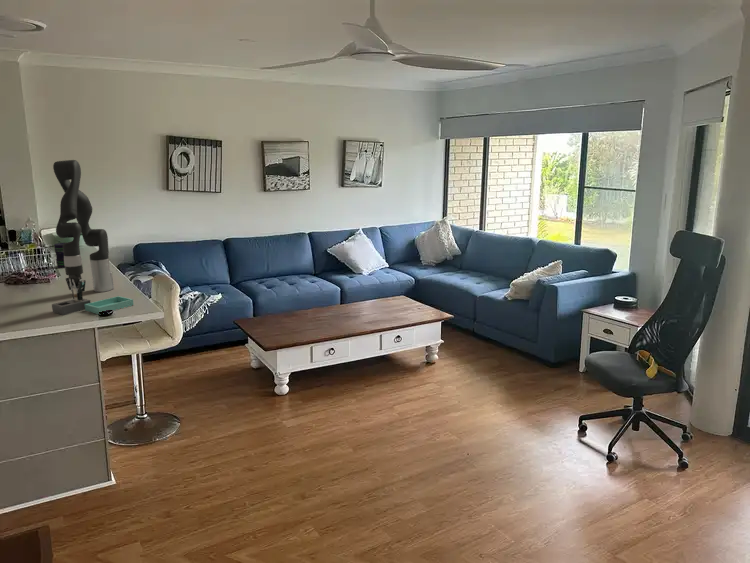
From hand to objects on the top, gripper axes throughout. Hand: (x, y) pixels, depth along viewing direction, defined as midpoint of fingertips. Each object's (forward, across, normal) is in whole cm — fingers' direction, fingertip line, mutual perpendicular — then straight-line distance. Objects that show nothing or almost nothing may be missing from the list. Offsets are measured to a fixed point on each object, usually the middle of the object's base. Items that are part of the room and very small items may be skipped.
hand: (78, 299), depth 290 cm
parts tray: (+5, -12, -8) cm, 15 cm away
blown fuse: (+3, 0, 0) cm, 3 cm away
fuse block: (+5, 0, +4) cm, 6 cm away
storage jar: (+5, +103, -50) cm, 115 cm away
